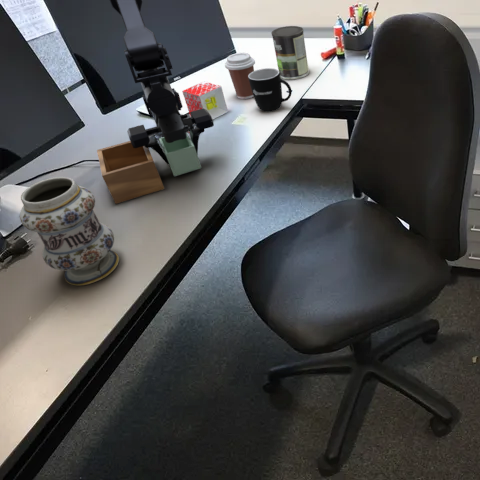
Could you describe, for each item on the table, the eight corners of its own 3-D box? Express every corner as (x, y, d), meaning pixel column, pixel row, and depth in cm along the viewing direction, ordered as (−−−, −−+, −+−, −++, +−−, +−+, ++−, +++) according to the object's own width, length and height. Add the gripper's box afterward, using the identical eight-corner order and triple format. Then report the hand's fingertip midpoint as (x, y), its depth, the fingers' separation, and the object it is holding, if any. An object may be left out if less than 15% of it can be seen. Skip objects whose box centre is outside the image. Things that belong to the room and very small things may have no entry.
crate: (109, 176, 120) (96, 149, 115) (154, 163, 123) (144, 136, 118) (115, 204, 110) (101, 175, 105) (164, 188, 113) (153, 160, 109)
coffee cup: (267, 92, 154) (259, 54, 146) (244, 103, 149) (234, 63, 141) (250, 86, 159) (241, 49, 151) (227, 96, 154) (217, 58, 146)
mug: (250, 113, 142) (242, 79, 136) (262, 100, 149) (255, 67, 143) (289, 114, 140) (282, 80, 133) (299, 101, 146) (293, 68, 140)
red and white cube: (207, 122, 140) (199, 96, 135) (190, 116, 144) (182, 91, 139) (228, 111, 145) (221, 85, 140) (211, 106, 149) (204, 81, 144)
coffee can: (284, 82, 159) (276, 37, 151) (275, 72, 167) (267, 30, 158) (313, 75, 162) (307, 31, 153) (303, 66, 170) (297, 23, 161)
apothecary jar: (133, 245, 98) (95, 167, 86) (112, 287, 88) (66, 207, 77) (74, 250, 98) (29, 173, 86) (46, 292, 88) (-9, 213, 77)
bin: (166, 159, 122) (158, 138, 118) (192, 152, 124) (185, 130, 120) (174, 176, 115) (165, 154, 111) (201, 168, 117) (194, 146, 113)
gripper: (122, 123, 100) (148, 186, 110) (210, 100, 106) (228, 162, 116) (116, 104, 108) (141, 165, 118) (198, 84, 114) (216, 143, 124)
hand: (182, 159), depth 119 cm, fingers closed on bin, 7 cm apart
